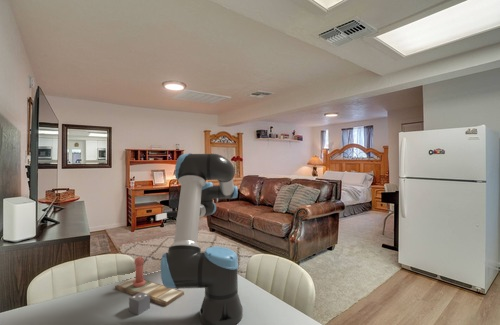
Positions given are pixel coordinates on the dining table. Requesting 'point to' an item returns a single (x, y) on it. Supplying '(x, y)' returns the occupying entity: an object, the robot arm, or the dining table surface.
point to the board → (152, 291)
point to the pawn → (139, 273)
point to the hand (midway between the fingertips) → (166, 219)
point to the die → (139, 303)
